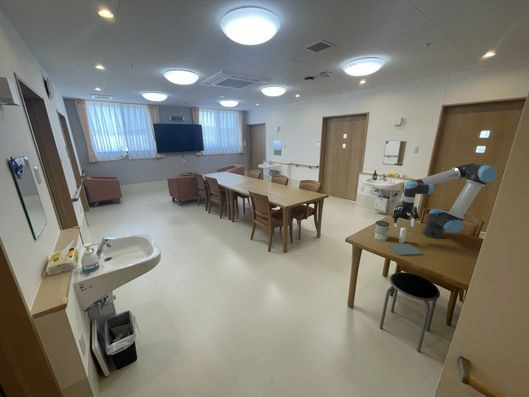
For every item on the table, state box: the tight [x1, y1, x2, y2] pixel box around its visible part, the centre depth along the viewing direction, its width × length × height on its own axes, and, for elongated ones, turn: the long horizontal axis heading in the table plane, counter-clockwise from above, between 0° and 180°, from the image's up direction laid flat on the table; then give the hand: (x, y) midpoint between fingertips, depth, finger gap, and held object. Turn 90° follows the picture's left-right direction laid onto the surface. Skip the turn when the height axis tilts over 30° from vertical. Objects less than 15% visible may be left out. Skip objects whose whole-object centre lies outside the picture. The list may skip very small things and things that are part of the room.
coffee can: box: [373, 220, 391, 242], centre depth 181 cm, size 10×10×14 cm
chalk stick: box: [398, 227, 407, 244], centre depth 174 cm, size 4×4×12 cm
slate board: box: [388, 243, 423, 257], centre depth 163 cm, size 17×14×1 cm
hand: (403, 226), depth 171 cm, fingers open, 13 cm apart
